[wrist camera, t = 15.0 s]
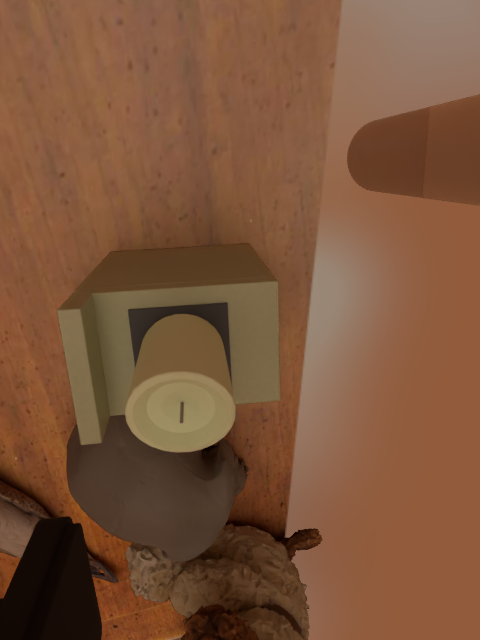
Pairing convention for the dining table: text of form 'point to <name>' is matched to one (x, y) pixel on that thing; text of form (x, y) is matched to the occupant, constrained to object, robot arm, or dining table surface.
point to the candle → (181, 386)
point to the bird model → (29, 527)
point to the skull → (154, 490)
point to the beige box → (161, 301)
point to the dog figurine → (231, 585)
